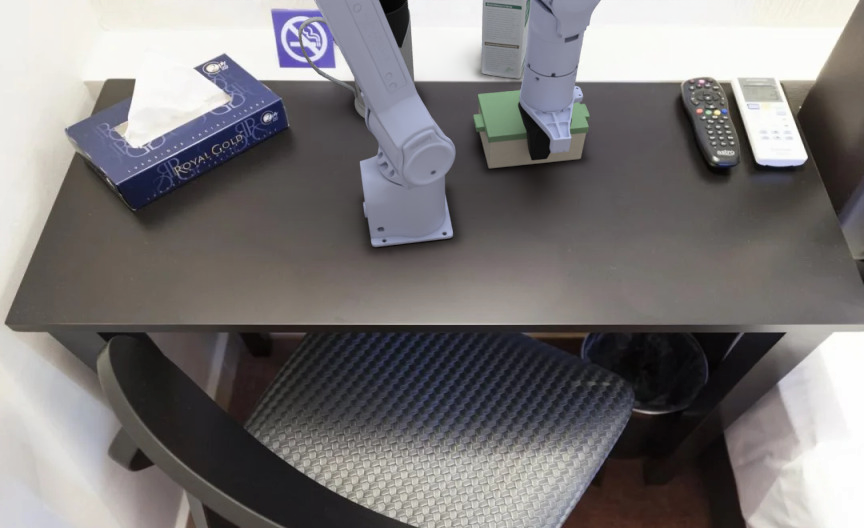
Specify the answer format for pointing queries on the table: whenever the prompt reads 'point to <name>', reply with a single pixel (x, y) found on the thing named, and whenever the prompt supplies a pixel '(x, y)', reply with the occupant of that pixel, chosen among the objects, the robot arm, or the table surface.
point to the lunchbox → (519, 131)
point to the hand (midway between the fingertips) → (538, 156)
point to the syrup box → (504, 37)
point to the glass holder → (400, 24)
